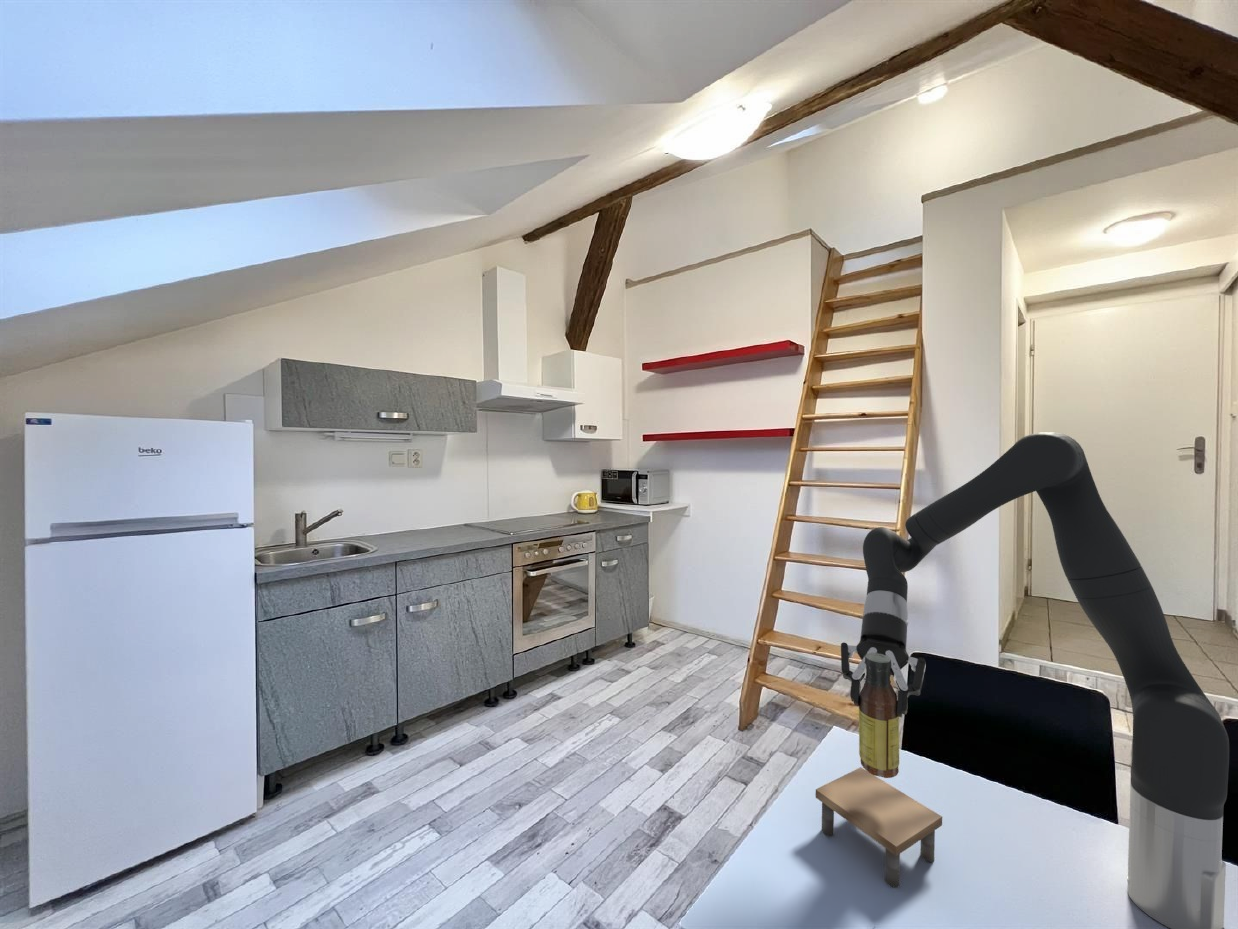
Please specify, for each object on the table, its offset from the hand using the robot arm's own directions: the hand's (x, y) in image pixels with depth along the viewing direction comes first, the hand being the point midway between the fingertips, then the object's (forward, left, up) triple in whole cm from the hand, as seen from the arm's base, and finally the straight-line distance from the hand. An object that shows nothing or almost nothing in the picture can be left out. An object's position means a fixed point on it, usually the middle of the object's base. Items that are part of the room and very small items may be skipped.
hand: (877, 709), depth 85 cm
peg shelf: (+1, -1, -25) cm, 25 cm away
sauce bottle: (+1, -2, -11) cm, 12 cm away
